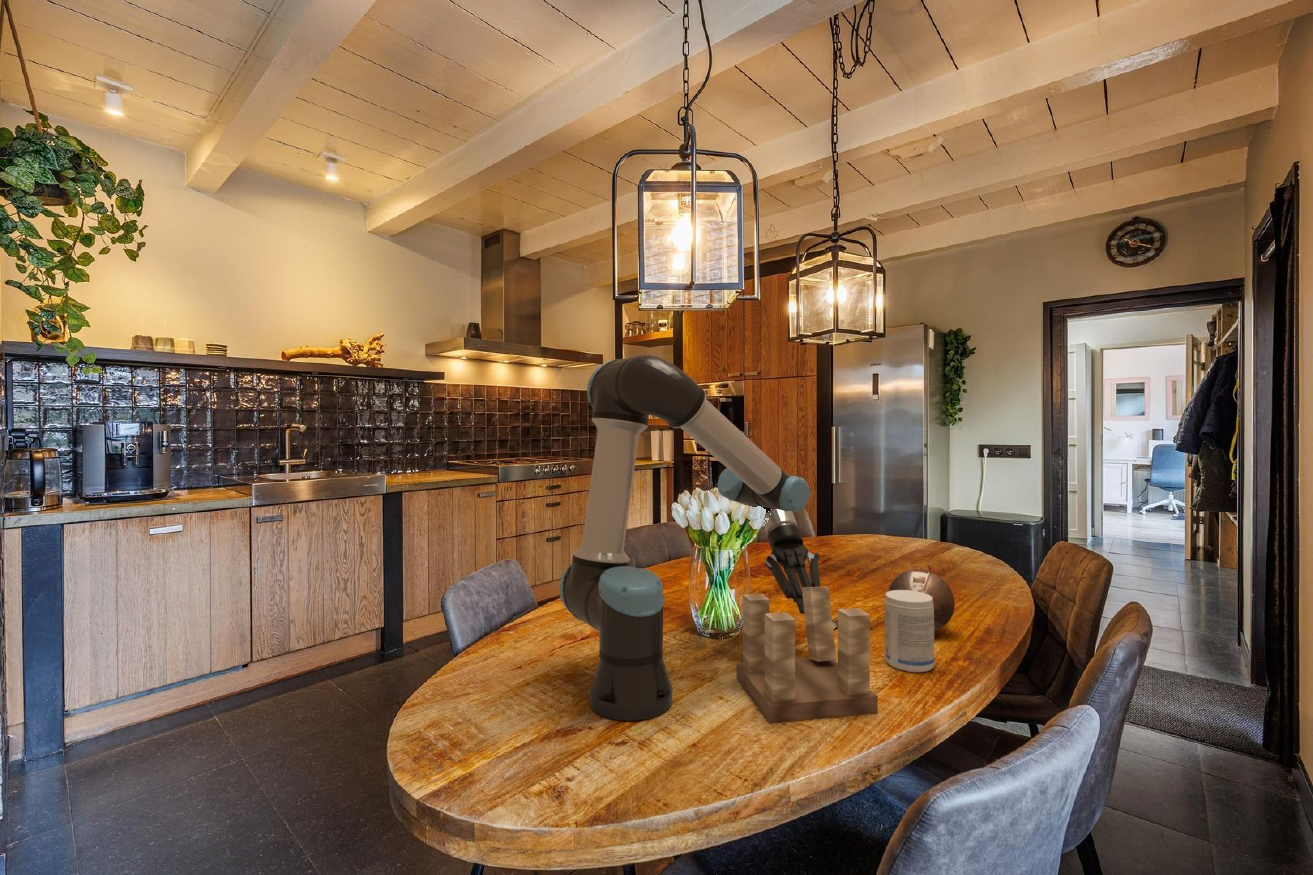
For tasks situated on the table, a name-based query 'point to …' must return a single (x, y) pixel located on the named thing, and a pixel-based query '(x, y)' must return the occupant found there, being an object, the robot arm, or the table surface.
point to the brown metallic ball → (928, 592)
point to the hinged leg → (819, 623)
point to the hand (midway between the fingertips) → (814, 626)
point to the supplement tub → (909, 630)
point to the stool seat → (804, 667)
